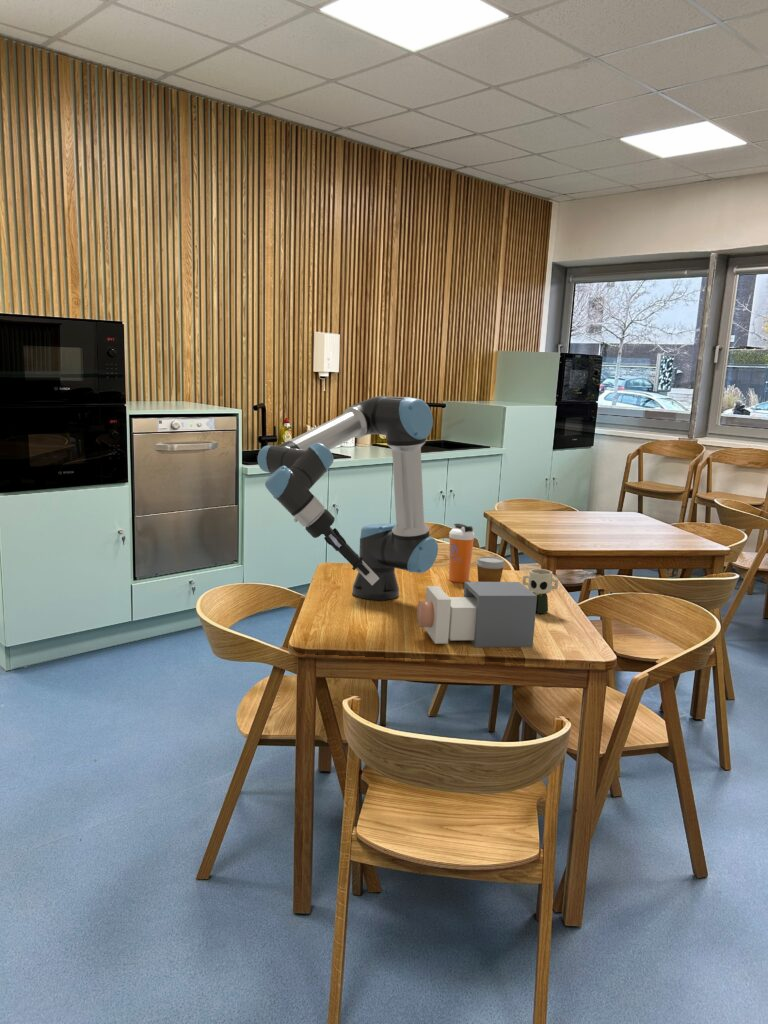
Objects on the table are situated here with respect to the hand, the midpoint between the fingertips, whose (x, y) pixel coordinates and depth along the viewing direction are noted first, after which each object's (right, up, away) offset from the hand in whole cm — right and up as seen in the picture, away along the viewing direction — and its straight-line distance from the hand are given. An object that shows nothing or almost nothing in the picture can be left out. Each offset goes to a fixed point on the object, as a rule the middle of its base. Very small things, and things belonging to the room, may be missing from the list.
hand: (375, 581), depth 199 cm
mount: (+33, -17, +9) cm, 38 cm away
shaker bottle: (+29, -6, +70) cm, 76 cm away
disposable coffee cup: (+37, -9, +54) cm, 66 cm away
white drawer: (+22, -15, +7) cm, 28 cm away
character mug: (+50, -13, +36) cm, 63 cm away
